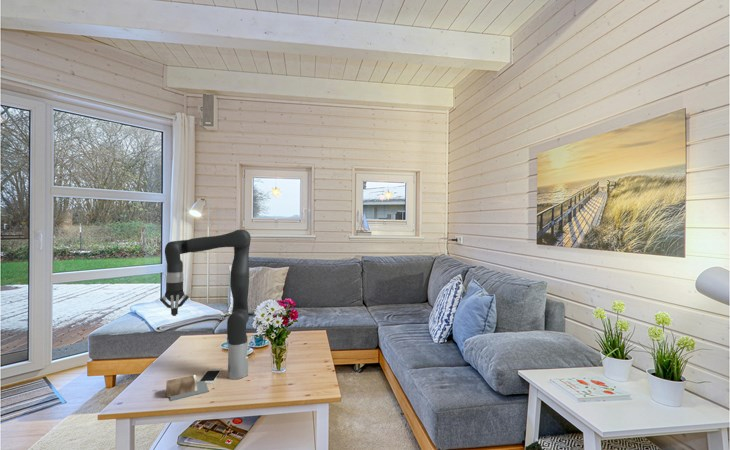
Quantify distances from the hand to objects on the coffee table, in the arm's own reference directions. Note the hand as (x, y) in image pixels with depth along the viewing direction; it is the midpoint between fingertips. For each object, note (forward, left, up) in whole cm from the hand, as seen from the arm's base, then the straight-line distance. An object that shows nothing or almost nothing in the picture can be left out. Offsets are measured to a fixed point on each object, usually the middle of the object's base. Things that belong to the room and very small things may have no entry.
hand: (174, 315), depth 167 cm
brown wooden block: (+4, +16, -29) cm, 33 cm away
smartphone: (-16, +6, -33) cm, 37 cm away
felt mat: (-5, +16, -32) cm, 36 cm away
